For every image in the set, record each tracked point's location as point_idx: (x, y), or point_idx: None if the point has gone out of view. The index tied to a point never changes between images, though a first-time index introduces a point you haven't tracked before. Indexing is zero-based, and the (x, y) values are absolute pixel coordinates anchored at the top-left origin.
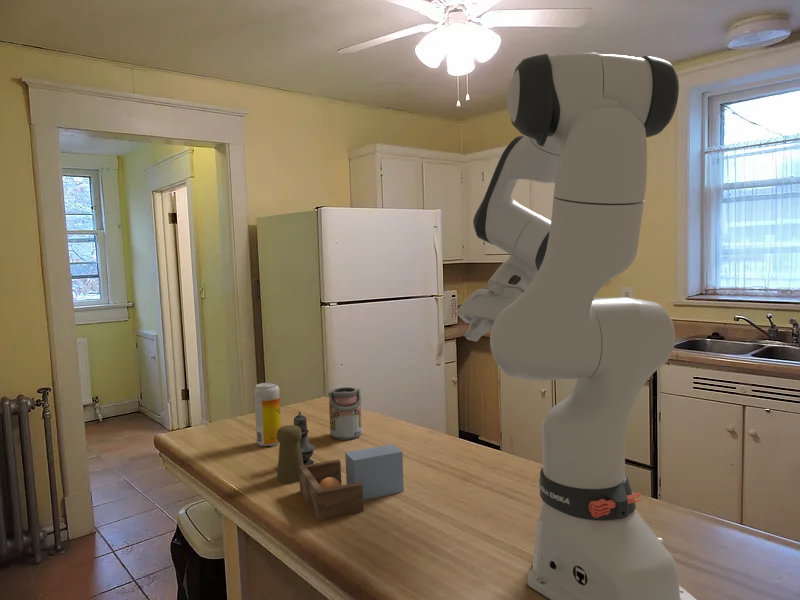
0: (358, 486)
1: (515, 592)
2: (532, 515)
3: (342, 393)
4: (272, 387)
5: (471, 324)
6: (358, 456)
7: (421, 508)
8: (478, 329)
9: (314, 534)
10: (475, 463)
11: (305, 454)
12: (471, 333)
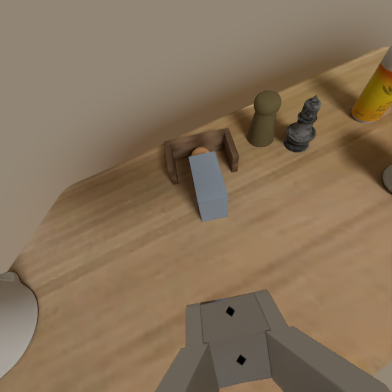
0: (167, 168)
1: (15, 260)
2: (96, 338)
3: None
4: None
5: (314, 364)
6: (198, 161)
7: (159, 229)
8: (174, 367)
9: (150, 154)
10: None
11: (288, 137)
12: (204, 313)
